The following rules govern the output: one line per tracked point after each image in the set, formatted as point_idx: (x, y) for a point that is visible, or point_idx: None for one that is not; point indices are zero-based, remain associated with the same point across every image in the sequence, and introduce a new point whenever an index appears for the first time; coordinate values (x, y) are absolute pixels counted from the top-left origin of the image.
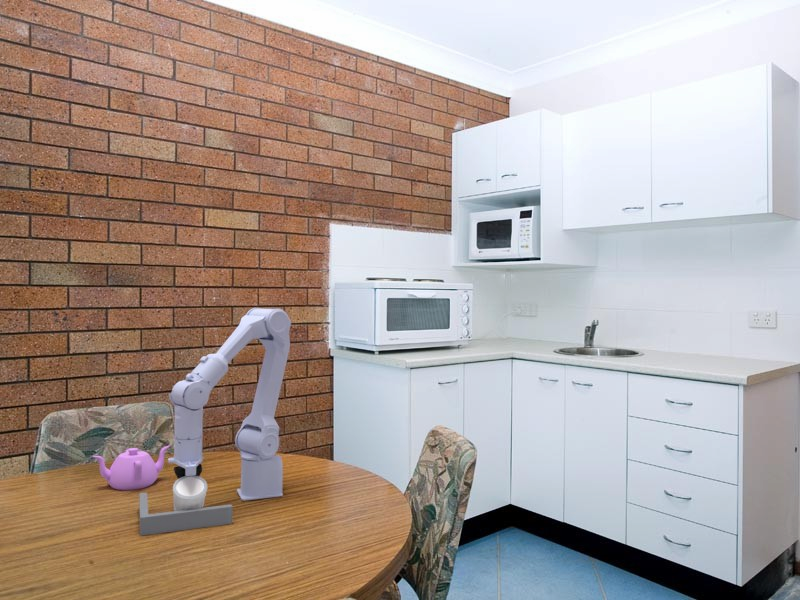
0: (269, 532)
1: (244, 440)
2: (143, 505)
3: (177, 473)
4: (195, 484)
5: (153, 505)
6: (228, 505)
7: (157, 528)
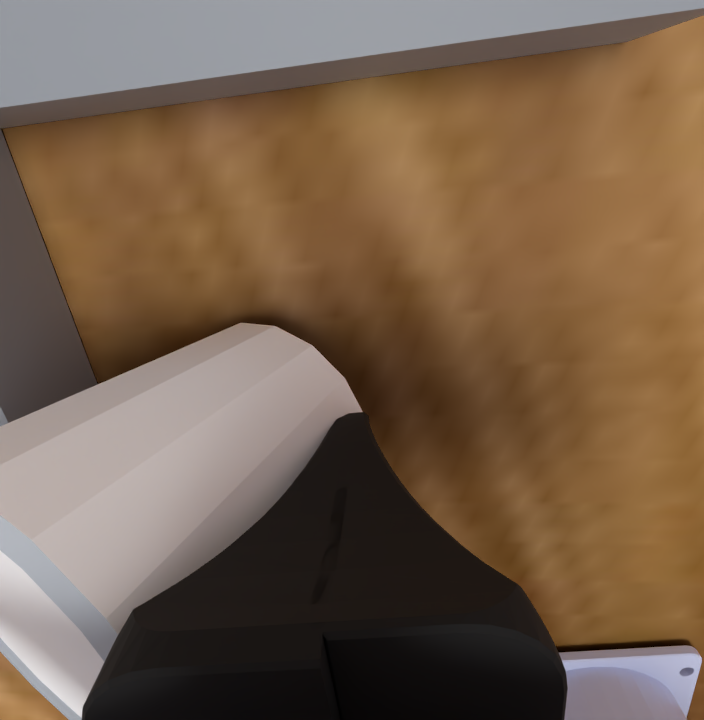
0: (19, 708)
1: None
2: (178, 22)
3: (106, 658)
4: (80, 685)
5: (687, 105)
6: None
7: None
